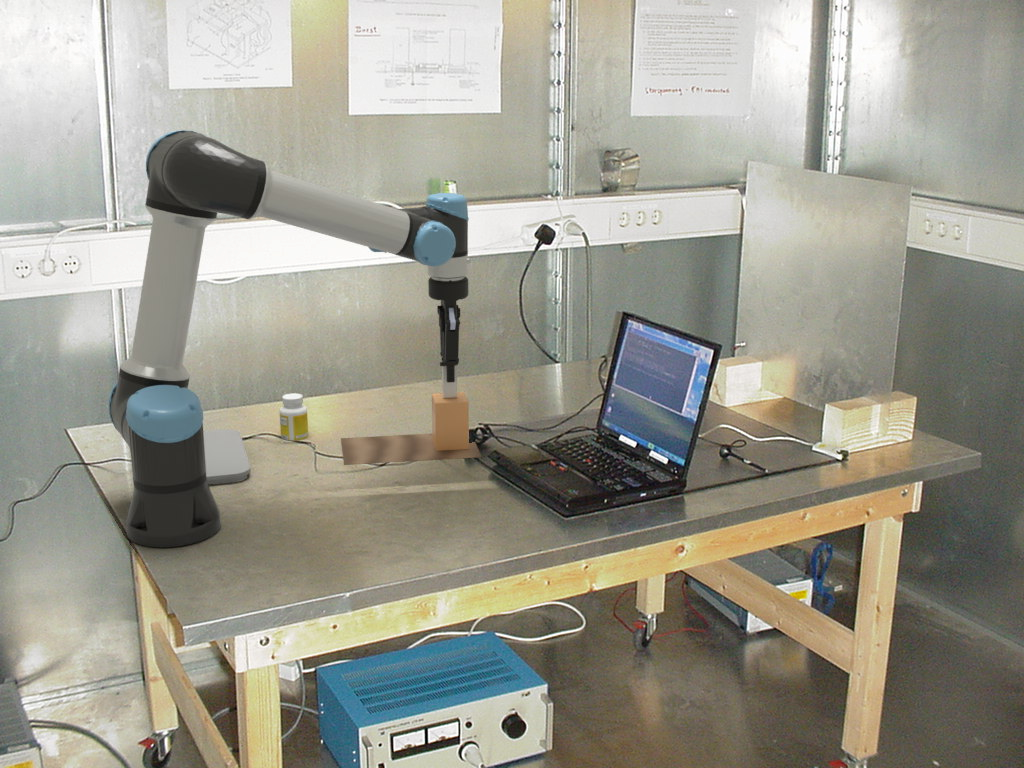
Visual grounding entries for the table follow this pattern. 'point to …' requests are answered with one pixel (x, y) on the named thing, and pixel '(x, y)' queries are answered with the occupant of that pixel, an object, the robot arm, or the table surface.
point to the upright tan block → (450, 422)
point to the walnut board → (399, 449)
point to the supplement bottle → (293, 418)
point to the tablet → (225, 456)
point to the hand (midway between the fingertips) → (449, 396)
